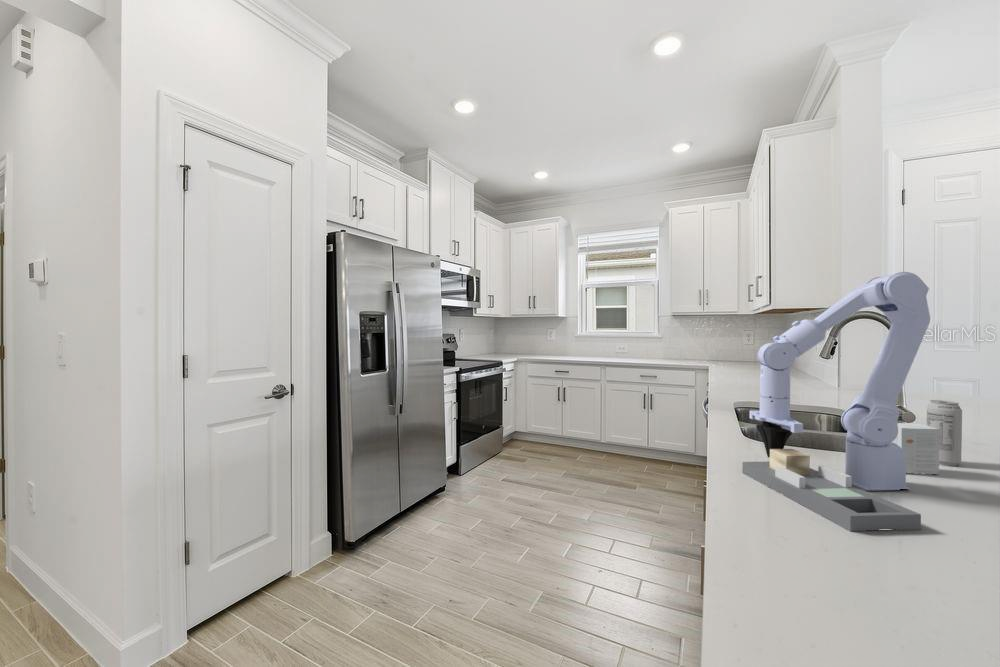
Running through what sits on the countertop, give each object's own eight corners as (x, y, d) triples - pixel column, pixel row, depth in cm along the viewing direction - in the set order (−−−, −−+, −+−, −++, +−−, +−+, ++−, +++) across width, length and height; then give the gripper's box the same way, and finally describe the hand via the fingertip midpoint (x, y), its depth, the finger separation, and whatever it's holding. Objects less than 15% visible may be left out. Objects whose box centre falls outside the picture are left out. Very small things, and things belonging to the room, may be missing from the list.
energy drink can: (968, 466, 103) (969, 403, 103) (948, 467, 101) (950, 404, 101) (937, 458, 109) (938, 399, 108) (919, 459, 107) (920, 400, 107)
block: (791, 467, 93) (791, 448, 93) (809, 474, 88) (809, 455, 88) (769, 467, 93) (769, 448, 93) (786, 475, 88) (786, 455, 88)
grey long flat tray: (793, 472, 98) (793, 452, 98) (920, 529, 70) (921, 502, 70) (742, 472, 97) (742, 453, 97) (850, 531, 69) (850, 503, 69)
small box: (918, 467, 102) (918, 423, 102) (939, 475, 96) (940, 428, 96) (881, 466, 102) (882, 422, 102) (900, 474, 97) (901, 427, 97)
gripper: (737, 392, 102) (736, 448, 102) (780, 402, 88) (779, 468, 88) (765, 391, 103) (765, 448, 103) (813, 402, 88) (812, 468, 88)
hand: (773, 457), depth 95 cm, fingers closed
